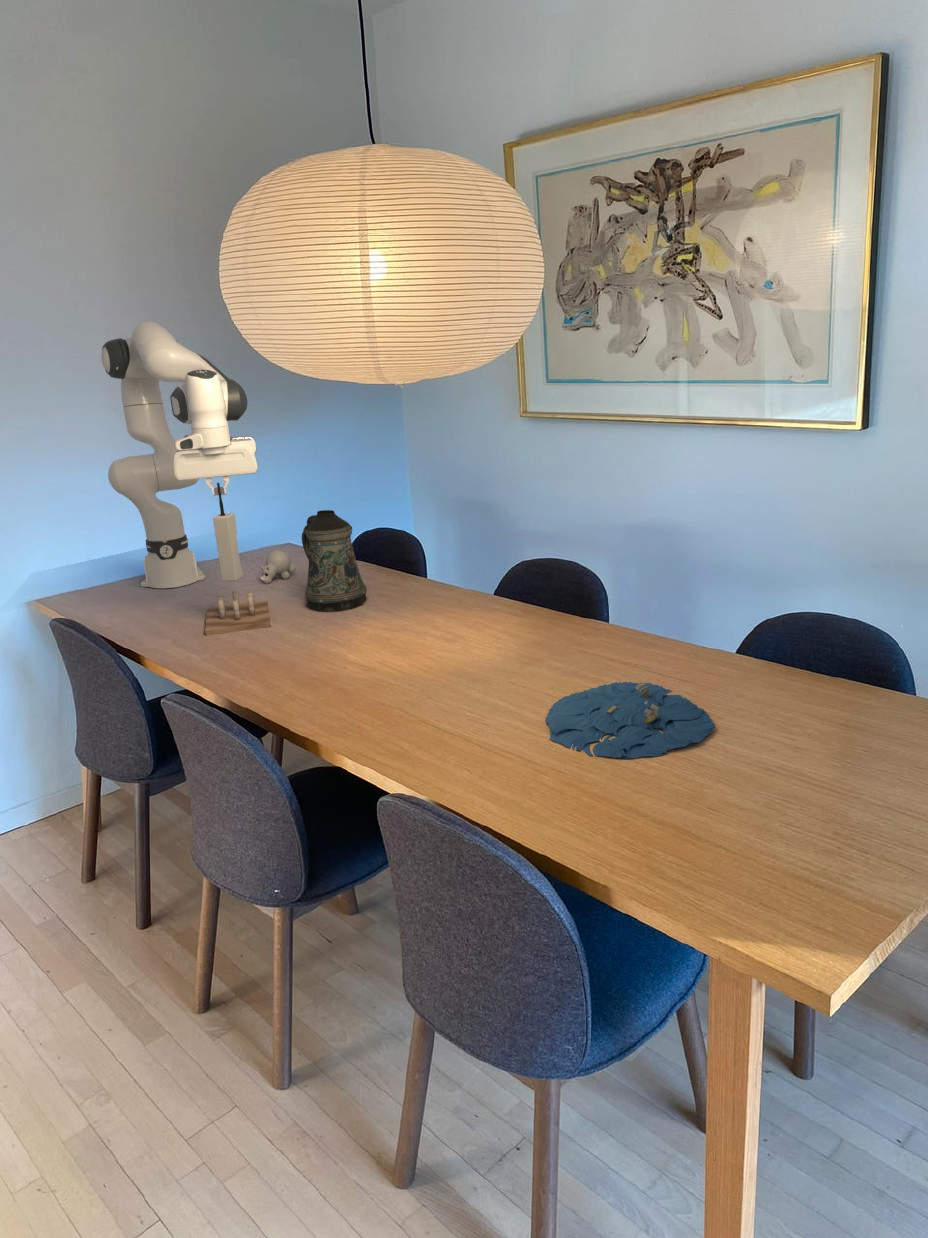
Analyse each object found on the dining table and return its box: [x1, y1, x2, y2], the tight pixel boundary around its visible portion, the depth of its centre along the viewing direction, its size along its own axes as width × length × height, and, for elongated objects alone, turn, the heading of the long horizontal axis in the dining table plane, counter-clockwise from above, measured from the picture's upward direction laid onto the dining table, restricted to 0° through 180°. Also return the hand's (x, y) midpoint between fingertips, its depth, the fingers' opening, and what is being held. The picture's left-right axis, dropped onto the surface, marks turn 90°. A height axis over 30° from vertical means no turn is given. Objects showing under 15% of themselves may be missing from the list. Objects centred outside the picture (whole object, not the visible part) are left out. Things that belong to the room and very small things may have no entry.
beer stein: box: [301, 509, 368, 613], centre depth 238 cm, size 16×19×25 cm
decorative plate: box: [544, 681, 717, 760], centre depth 160 cm, size 30×30×5 cm
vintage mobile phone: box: [212, 482, 244, 583], centre depth 225 cm, size 4×5×25 cm
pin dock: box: [204, 591, 272, 636], centre depth 232 cm, size 20×16×6 cm
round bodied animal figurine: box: [259, 549, 297, 585], centre depth 267 cm, size 7×12×8 cm, turn 145°
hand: (219, 494), depth 223 cm, fingers closed on vintage mobile phone
